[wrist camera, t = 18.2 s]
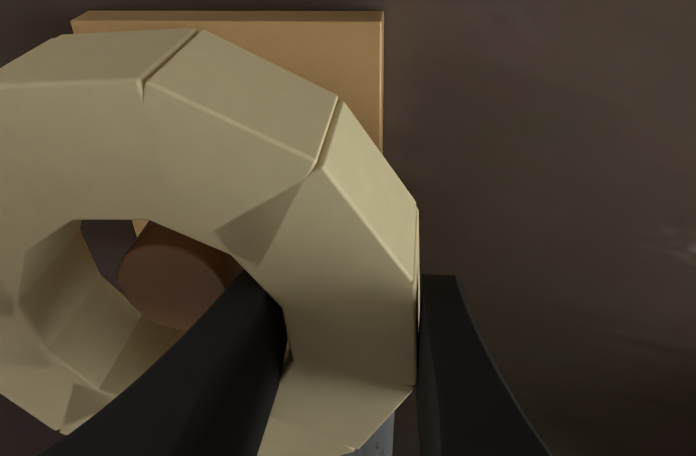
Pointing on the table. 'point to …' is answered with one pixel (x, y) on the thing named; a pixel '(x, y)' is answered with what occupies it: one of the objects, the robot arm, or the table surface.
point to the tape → (201, 226)
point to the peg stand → (284, 51)
